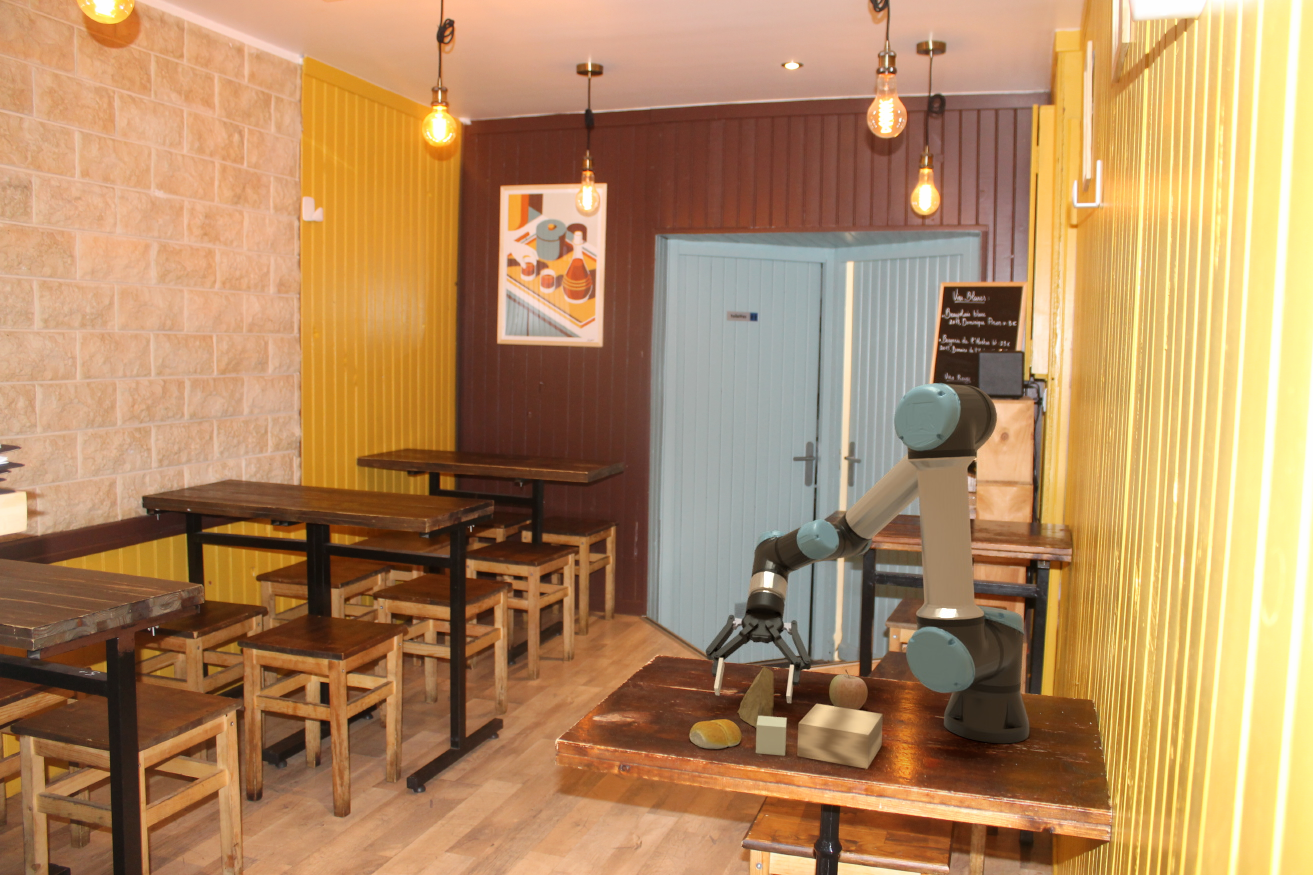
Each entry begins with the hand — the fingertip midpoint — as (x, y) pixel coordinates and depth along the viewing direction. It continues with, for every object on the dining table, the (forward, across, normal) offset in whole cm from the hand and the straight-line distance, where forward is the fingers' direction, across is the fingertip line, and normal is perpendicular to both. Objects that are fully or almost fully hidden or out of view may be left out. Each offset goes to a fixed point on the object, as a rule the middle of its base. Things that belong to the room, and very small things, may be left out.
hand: (752, 695), depth 181 cm
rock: (+3, 0, -5) cm, 6 cm away
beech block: (+10, -17, +2) cm, 20 cm away
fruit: (-6, -17, -14) cm, 23 cm away
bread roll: (+12, +5, +4) cm, 14 cm away
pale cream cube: (+12, -5, +5) cm, 14 cm away
